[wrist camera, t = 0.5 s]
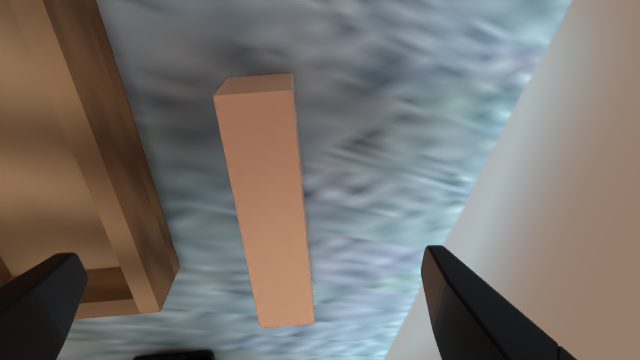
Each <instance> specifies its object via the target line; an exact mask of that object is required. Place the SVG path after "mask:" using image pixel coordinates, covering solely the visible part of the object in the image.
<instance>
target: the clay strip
mask: <svg viewBox="0 0 640 360" xmlns="http://www.w3.org/2000/svg"><path fill="white" fill-rule="evenodd" d="M213 99H214V104H215V109H216V114H217V119H218V124H219V129H220V133H221V138H222V143H223V148H224V153H225V158H226V163H227V168H228V173H229V178H230V183H231V188H232V193H233V197H234V202H235V207H236V212H237V217H238V222H239V227H240V232H241V237H242V242H243V247H244V252H245V257H246V262H247V266H248V271H249V276H250V281H251V286H252V291H253V296H254V301H255V306H256V311H257V316H258V321H259V326H260V328H266V327H277V326H289V325H300V324H312V323H314V303H313V283H312V272H311V261H310V250H309V240H308V229H307V219H306V208H305V198H304V187H303V176H302V166H301V155H300V145H299V134H298V124H297V113H296V102H295V92H294V81H293V73H283V74H269V75H256V76H242V77H229V78H227V79H226V80H225V81H224V83H223V84H222V85H221V86H220V88H219V89H218V90H217V91H216V93H215V94H214V95H213Z"/></svg>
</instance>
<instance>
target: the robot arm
mask: <svg viewBox="0 0 640 360" xmlns="http://www.w3.org/2000/svg"><path fill="white" fill-rule="evenodd" d="M421 277H422V282H423V287H424V292H425V296H426V301H427V306H428V311H429V316H430V321H431V325H432V329H433V333H434V337H435V340H436V343H437V346H438V349H439V352H440V355H441V358H442V360H577V359H576V358H575V357H573V356H572V355H571V354H570V353H569V352H567V351H566V350H565V349H564V348H563V347H562V346H558V344H557V342H555V341H554V340H553V339H552V338H551V337H550V336H548V335H547V334H546V333H545V332H544V331H543V330H541V329H540V328H539V327H538V326H536V324H534V323H533V322H532V321H531V320H530V319H528V318H527V317H526V316H525V315H524V314H523V313H521V312H520V311H519V310H518V309H517V308H516V307H514V306H513V305H512V304H511V303H509V301H507V300H506V299H505V298H504V297H503V296H501V295H500V294H499V293H498V292H497V291H496V290H494V289H493V288H492V287H491V286H490V285H489V284H487V283H486V282H485V281H484V280H482V278H480V277H479V276H478V275H477V274H476V273H474V272H473V271H472V270H471V269H470V268H468V267H467V266H466V265H465V264H464V263H463V262H461V261H460V260H459V259H458V258H457V257H456V256H454V255H453V254H452V253H451V252H450V251H449V250H447V249H446V248H445V247H444V246H441V245H429V246H427V247H426V248H425V251H424V256H423V261H422V266H421ZM87 283H88V274H87V272H86V270H85V268H84V266H83V264H82V262H81V260H80V258H79V256H78V255H77V254H76V253H73V252H63V253H57V254H54V255H53V256H51V257H49V258H48V259H46V260H44V261H43V262H41V263H39V264H38V265H36V266H34V267H33V268H31V269H29V270H28V271H26V272H24V273H23V274H21V275H19V276H18V277H16V278H14V279H13V280H11V281H9V282H7V283H6V284H4V285H2V286H1V287H0V360H56V359H57V357H58V355H59V353H60V351H61V349H62V347H63V345H64V342H65V340H66V338H67V336H68V333H69V331H70V328H71V326H72V323H73V320H74V318H75V315H76V313H77V310H78V307H79V305H80V302H81V299H82V297H83V294H84V292H85V289H86V286H87ZM133 360H215V358H214V355H213V353H211V352H195V353H184V354H173V355H162V356H150V357H139V358H134V359H133Z"/></svg>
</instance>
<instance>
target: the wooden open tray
mask: <svg viewBox="0 0 640 360" xmlns="http://www.w3.org/2000/svg"><path fill="white" fill-rule="evenodd" d="M63 252H73V253H76V254H77V255H78V256H79V258H80V260H81V262H82V264H83V266H84V268H85V270H86V272H87V274H88V283H87V286H86V289H85V292H84V294H83V297H82V299H81V302H80V305H79V307H78V310H77V313H76V315H75V318H74V319H84V318H95V317H107V316H119V315H130V314H142V313H153V312H161V309H162V307H163V305H164V302H165V300H166V297H167V295H168V293H169V290H170V288H171V286H172V283H173V281H174V278H175V276H176V274H177V271H178V269H179V267H180V266H179V263H178V259H177V256H176V253H175V250H174V247H173V244H172V241H171V237H170V234H169V231H168V228H167V225H166V222H165V218H164V215H163V212H162V209H161V206H160V203H159V199H158V196H157V193H156V190H155V187H154V184H153V180H152V177H151V174H150V171H149V168H148V165H147V162H146V158H145V155H144V152H143V149H142V146H141V143H140V139H139V136H138V133H137V130H136V127H135V124H134V120H133V117H132V114H131V111H130V108H129V105H128V101H127V98H126V95H125V92H124V89H123V86H122V83H121V79H120V76H119V73H118V70H117V67H116V64H115V60H114V57H113V54H112V51H111V48H110V45H109V41H108V38H107V35H106V32H105V29H104V26H103V22H102V19H101V16H100V13H99V10H98V7H97V4H96V0H0V287H1V286H2V285H4V284H6V283H7V282H9V281H11V280H13V279H14V278H16V277H18V276H19V275H21V274H23V273H24V272H26V271H28V270H29V269H31V268H33V267H34V266H36V265H38V264H39V263H41V262H43V261H44V260H46V259H48V258H49V257H51V256H53V255H54V254H57V253H63Z"/></svg>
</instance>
